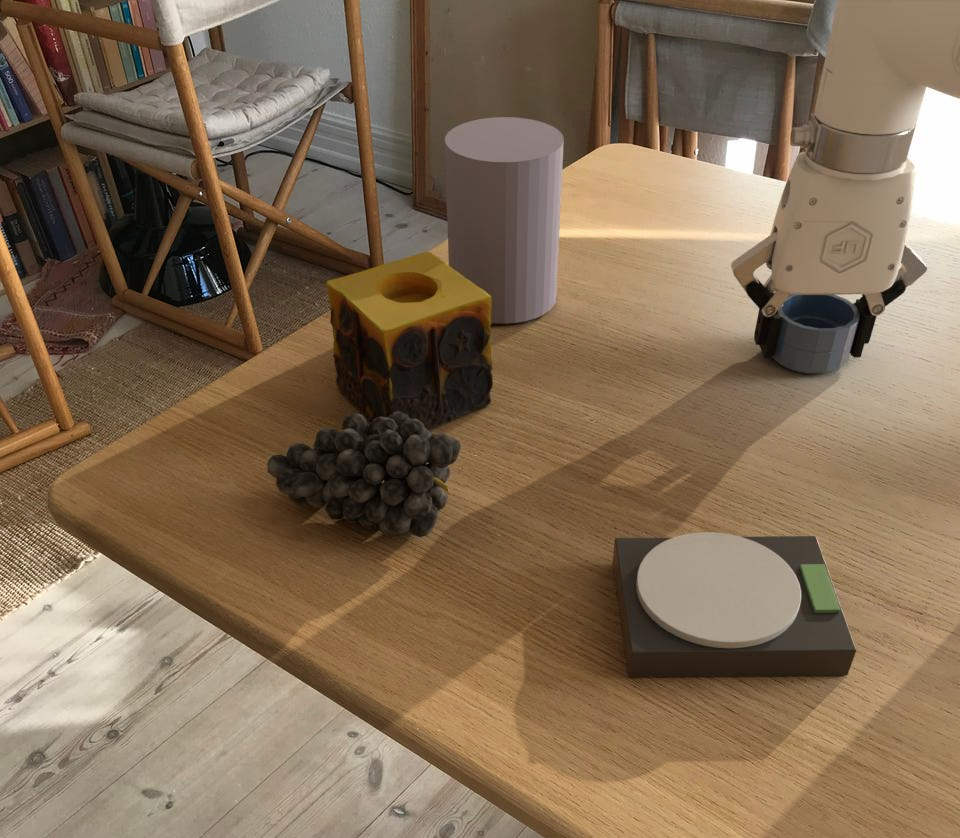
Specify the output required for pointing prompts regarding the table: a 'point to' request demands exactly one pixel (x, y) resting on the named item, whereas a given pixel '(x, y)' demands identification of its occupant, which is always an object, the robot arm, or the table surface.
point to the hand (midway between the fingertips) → (808, 348)
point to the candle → (412, 340)
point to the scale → (729, 607)
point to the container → (506, 212)
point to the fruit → (372, 473)
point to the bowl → (815, 333)
